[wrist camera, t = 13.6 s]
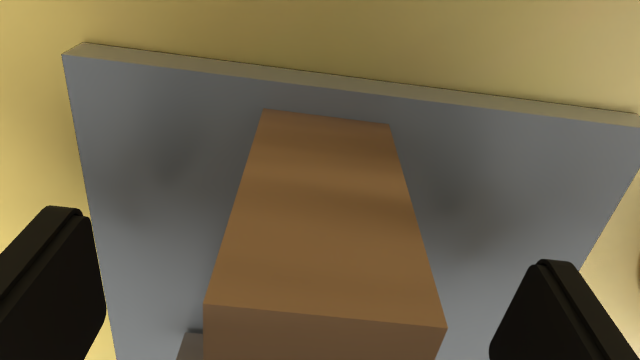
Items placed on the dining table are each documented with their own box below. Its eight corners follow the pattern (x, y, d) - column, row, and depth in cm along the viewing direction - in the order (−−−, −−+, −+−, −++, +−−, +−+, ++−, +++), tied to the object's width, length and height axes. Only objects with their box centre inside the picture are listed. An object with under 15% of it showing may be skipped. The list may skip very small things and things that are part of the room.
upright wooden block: (177, 97, 10) (30, 286, 5) (470, 134, 11) (602, 343, 6) (186, 337, 15) (113, 566, 10) (393, 357, 15) (428, 586, 10)
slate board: (82, 42, 11) (60, 54, 10) (636, 113, 11) (661, 130, 11) (147, 463, 21) (139, 487, 20) (433, 485, 22) (438, 508, 21)
